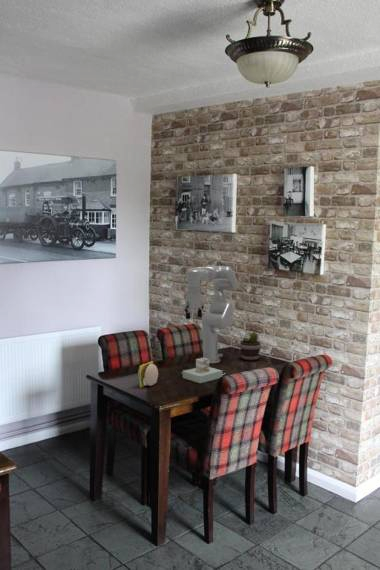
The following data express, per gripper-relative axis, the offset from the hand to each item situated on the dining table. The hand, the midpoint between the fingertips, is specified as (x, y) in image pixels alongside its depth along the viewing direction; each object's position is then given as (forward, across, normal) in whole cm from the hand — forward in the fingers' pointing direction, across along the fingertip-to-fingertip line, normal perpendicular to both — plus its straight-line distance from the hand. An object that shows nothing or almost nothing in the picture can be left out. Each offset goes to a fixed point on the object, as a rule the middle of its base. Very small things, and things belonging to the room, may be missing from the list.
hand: (193, 318), depth 342 cm
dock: (+32, +8, +16) cm, 37 cm away
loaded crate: (+28, +8, +16) cm, 33 cm away
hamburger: (+33, +40, +6) cm, 52 cm away
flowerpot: (+32, -45, +6) cm, 56 cm away
